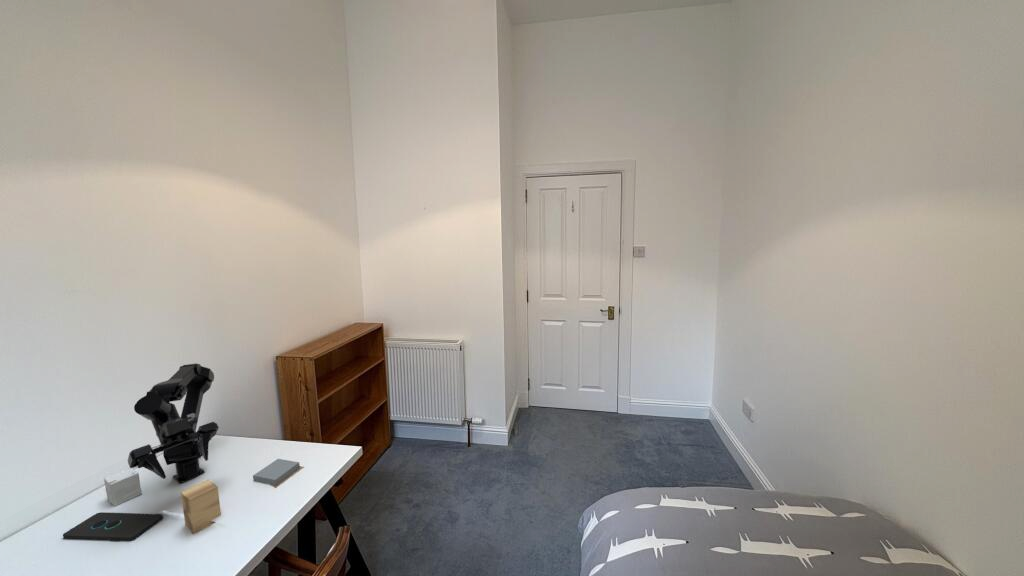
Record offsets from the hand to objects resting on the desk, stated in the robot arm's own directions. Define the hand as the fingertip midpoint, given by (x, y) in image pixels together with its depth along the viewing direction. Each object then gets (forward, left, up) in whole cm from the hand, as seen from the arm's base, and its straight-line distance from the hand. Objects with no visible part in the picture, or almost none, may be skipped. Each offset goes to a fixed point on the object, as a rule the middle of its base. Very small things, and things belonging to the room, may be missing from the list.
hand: (186, 468), depth 99 cm
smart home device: (-11, -13, -14) cm, 22 cm away
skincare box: (-26, -8, -14) cm, 31 cm away
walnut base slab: (+6, +20, -14) cm, 25 cm away
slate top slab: (+6, +20, -12) cm, 24 cm away
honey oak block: (+8, 0, -13) cm, 16 cm away
